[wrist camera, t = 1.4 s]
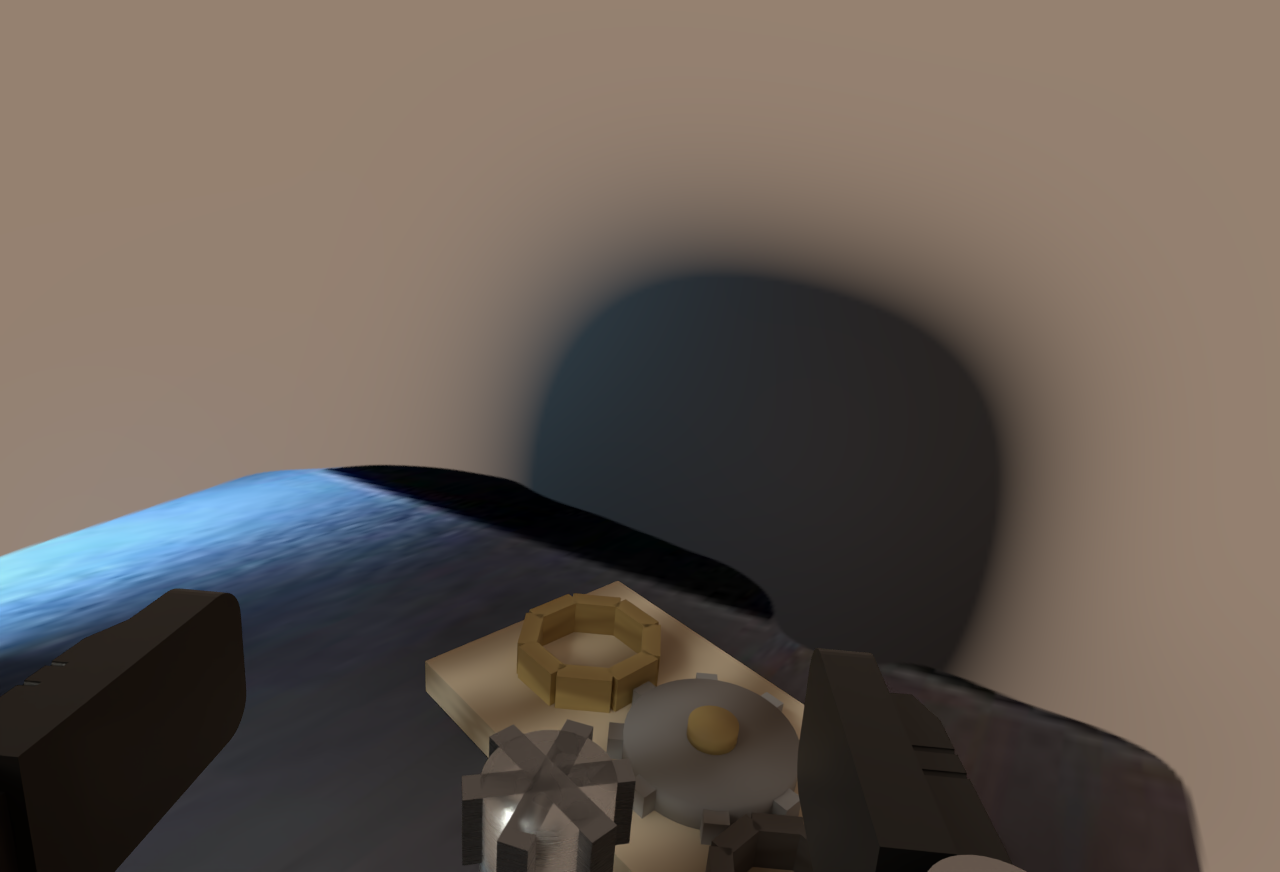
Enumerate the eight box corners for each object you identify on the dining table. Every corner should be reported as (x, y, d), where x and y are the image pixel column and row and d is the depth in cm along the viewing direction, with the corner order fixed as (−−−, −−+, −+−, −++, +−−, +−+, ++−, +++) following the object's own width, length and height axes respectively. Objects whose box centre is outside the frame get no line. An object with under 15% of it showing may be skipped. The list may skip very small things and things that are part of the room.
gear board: (425, 691, 44) (424, 627, 42) (615, 606, 53) (620, 551, 51) (789, 1078, 27) (809, 996, 26) (973, 857, 36) (996, 787, 35)
